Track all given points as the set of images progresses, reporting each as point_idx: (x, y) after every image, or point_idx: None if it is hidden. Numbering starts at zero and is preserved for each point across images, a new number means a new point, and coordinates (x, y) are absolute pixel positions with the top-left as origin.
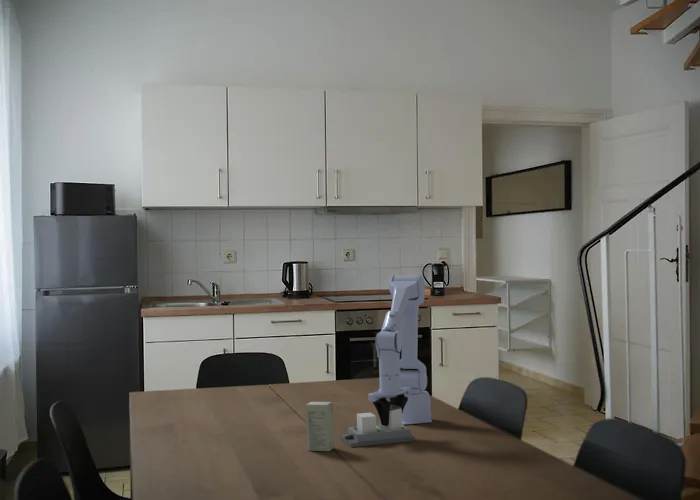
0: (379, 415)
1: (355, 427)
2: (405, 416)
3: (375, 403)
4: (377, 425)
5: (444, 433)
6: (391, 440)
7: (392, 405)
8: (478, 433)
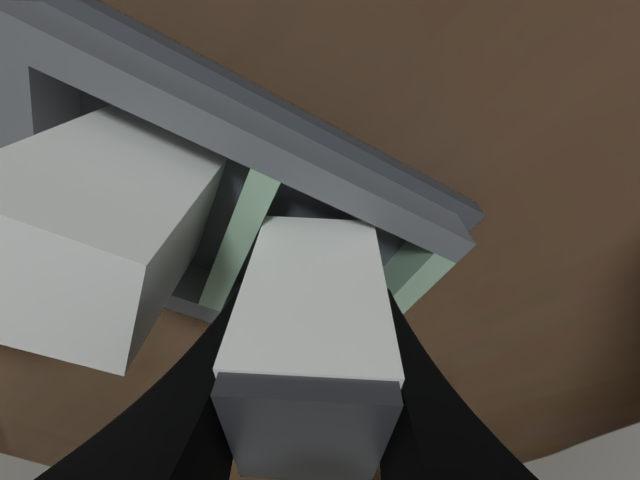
0: (203, 340)
1: (64, 78)
2: None
3: None
4: (288, 184)
5: (546, 340)
6: None
7: (367, 443)
8: (589, 400)
